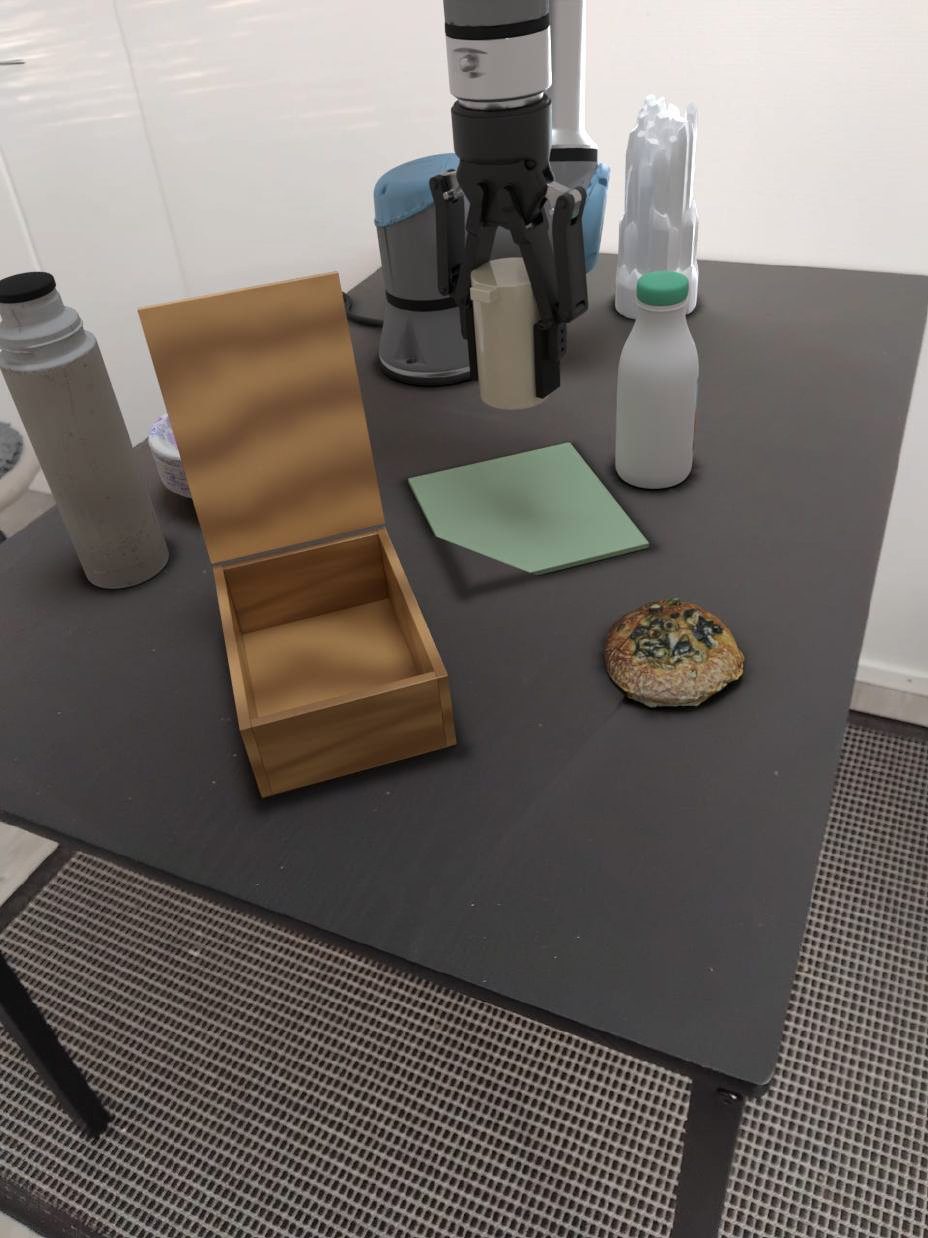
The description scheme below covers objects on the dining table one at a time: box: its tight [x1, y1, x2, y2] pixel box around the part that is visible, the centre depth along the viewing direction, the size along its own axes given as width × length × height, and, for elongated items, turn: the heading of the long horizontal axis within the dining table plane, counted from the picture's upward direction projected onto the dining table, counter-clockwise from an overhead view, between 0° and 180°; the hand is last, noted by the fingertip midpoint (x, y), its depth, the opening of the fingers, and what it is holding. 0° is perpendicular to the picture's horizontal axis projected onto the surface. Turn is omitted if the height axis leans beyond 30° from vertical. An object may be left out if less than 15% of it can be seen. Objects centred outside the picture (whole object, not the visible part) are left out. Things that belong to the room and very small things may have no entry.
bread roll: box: [603, 597, 746, 708], centre depth 77 cm, size 11×11×5 cm
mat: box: [407, 441, 650, 576], centre depth 96 cm, size 20×18×1 cm
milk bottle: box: [614, 271, 700, 490], centre depth 94 cm, size 8×8×20 cm
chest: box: [212, 526, 457, 799], centre depth 77 cm, size 20×15×8 cm
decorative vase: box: [614, 93, 699, 320], centre depth 124 cm, size 11×11×25 cm
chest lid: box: [137, 270, 386, 565], centre depth 78 cm, size 20×15×5 cm
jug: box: [470, 258, 551, 411], centre depth 85 cm, size 9×6×11 cm
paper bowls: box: [147, 411, 192, 499], centre depth 102 cm, size 15×15×8 cm
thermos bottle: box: [0, 271, 170, 590], centre depth 86 cm, size 8×8×28 cm
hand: (514, 382), depth 87 cm, fingers closed on jug, 6 cm apart
